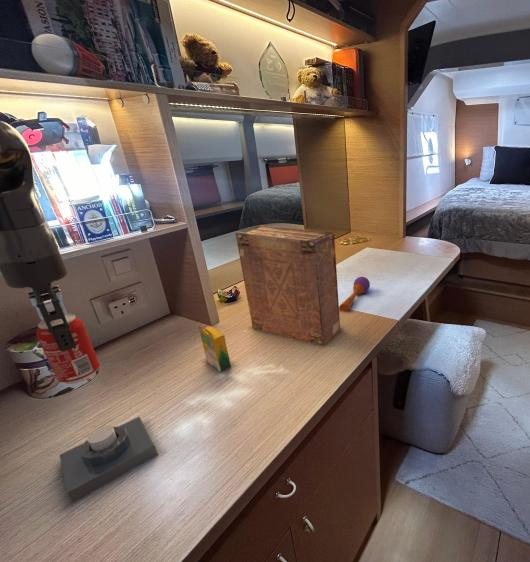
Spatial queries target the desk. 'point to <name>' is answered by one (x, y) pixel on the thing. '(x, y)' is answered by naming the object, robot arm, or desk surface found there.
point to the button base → (106, 459)
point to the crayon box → (215, 348)
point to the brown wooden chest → (291, 282)
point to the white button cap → (102, 438)
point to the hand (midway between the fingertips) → (65, 341)
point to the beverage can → (69, 352)
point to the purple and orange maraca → (356, 292)
